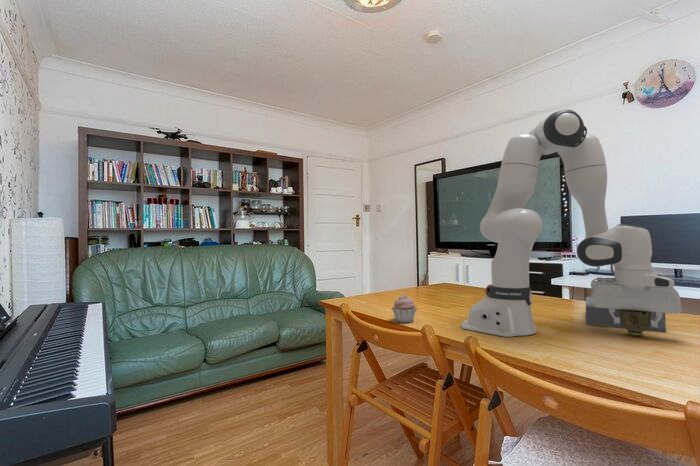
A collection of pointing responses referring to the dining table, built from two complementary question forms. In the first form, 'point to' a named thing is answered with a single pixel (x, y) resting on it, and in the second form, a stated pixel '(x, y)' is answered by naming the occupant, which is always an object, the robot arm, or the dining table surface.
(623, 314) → the wire cup brush
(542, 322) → the dining table surface
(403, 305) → the cupcake
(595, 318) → the gray square tray
